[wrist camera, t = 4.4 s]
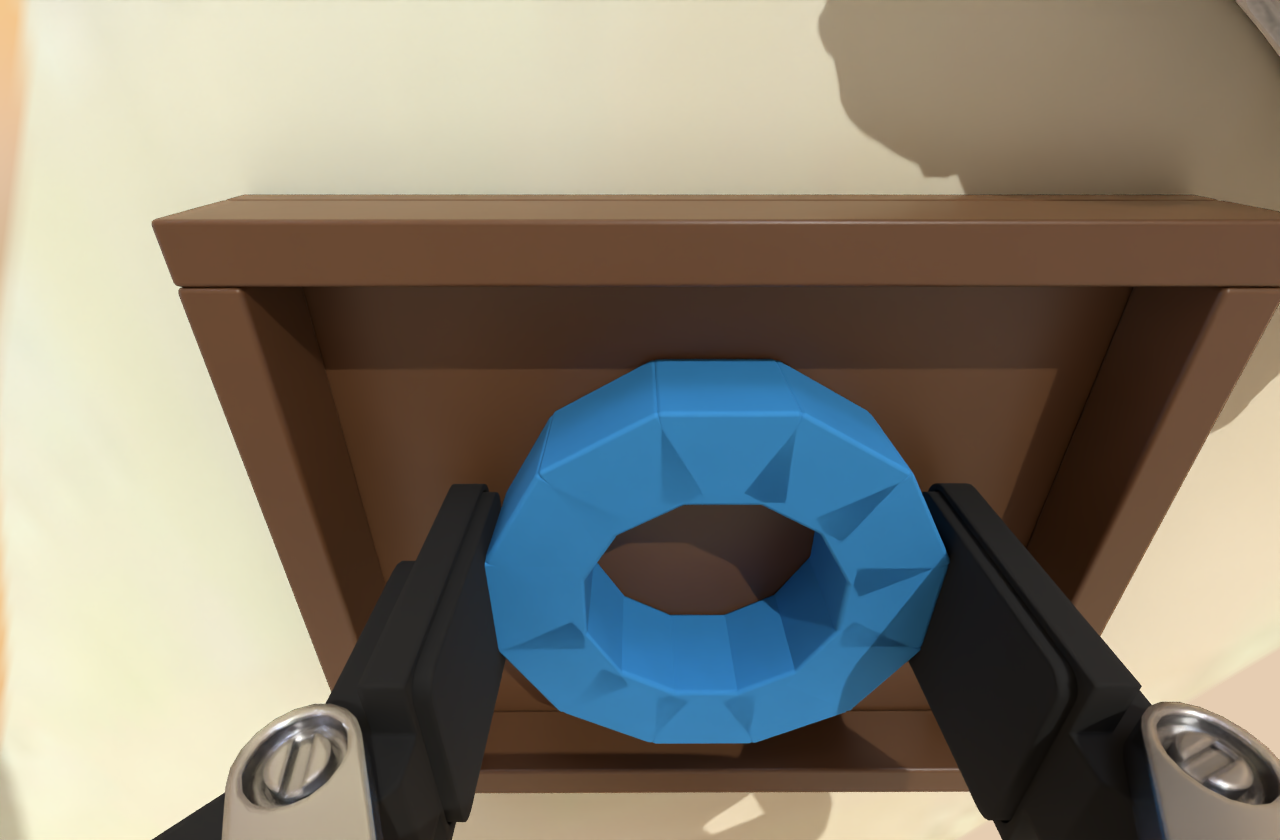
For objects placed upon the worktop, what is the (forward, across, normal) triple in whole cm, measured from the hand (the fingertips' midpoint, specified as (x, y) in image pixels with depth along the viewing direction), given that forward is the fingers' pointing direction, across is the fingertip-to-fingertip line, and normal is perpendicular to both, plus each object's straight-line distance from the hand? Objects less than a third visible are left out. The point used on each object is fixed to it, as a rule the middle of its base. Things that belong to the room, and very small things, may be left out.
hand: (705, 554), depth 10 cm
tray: (+1, 0, 0) cm, 1 cm away
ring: (0, 0, 0) cm, 0 cm away
